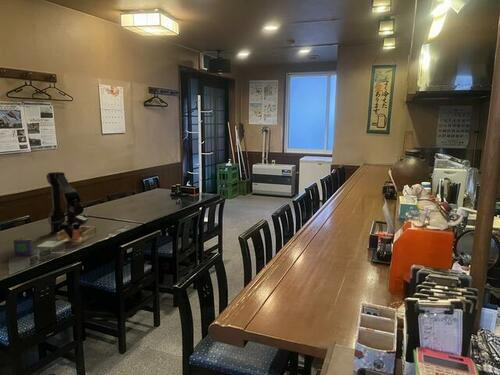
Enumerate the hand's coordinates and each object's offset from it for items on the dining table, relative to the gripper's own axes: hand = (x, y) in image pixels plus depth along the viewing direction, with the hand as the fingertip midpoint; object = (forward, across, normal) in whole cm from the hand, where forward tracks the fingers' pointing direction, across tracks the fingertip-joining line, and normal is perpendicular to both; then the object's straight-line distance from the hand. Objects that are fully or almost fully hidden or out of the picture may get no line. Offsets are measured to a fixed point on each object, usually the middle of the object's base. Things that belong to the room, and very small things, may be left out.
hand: (73, 237), depth 214 cm
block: (+1, 0, 0) cm, 1 cm away
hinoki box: (+3, +4, 0) cm, 5 cm away
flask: (+3, -26, +13) cm, 29 cm away
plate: (+3, -9, +9) cm, 13 cm away
